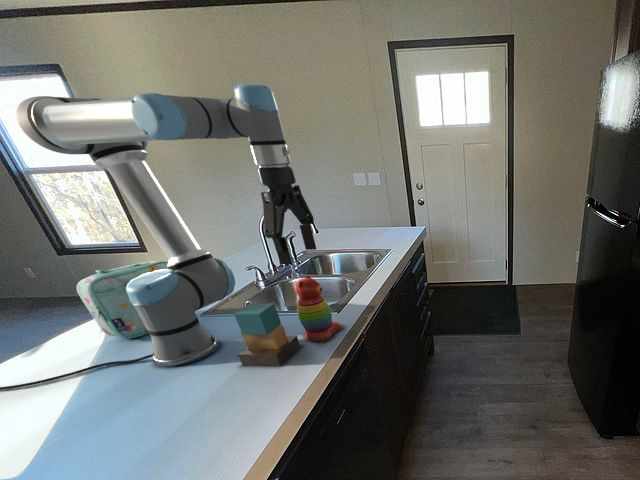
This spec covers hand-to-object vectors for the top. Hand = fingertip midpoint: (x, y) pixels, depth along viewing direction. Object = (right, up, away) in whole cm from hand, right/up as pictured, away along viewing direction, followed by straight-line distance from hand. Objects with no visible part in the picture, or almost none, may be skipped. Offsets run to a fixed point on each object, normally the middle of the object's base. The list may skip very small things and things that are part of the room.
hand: (299, 256), depth 100 cm
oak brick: (-11, -23, +6) cm, 27 cm away
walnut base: (-11, -26, +8) cm, 30 cm away
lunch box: (-63, -16, +29) cm, 72 cm away
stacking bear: (-2, -19, +19) cm, 27 cm away
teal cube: (-12, -19, +3) cm, 22 cm away
